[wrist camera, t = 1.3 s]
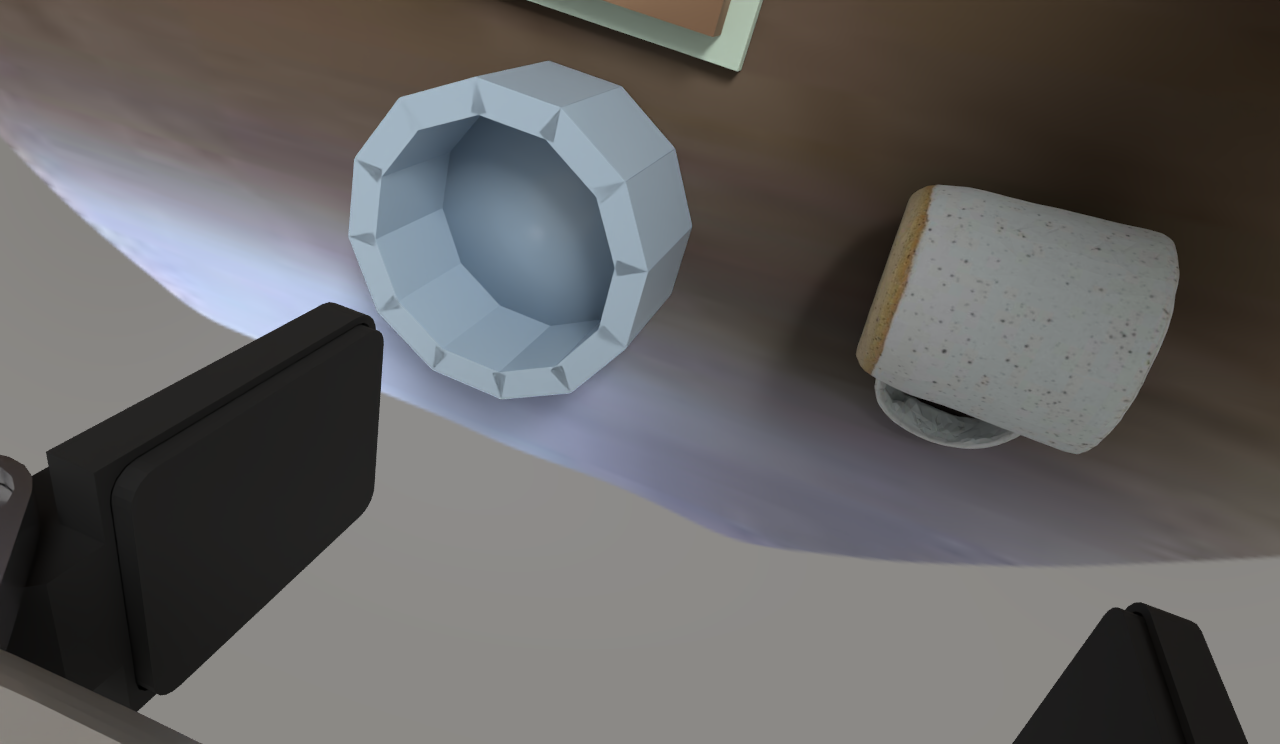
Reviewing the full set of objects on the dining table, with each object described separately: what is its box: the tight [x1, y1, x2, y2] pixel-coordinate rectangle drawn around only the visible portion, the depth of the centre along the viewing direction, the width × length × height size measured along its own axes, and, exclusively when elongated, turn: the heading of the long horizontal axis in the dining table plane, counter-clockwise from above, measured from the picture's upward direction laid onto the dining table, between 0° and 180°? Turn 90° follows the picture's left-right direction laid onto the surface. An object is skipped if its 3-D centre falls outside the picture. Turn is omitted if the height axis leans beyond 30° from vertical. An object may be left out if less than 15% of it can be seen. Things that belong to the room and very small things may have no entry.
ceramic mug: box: [856, 185, 1180, 454], centre depth 28 cm, size 11×8×8 cm
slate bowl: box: [349, 61, 692, 400], centre depth 32 cm, size 12×12×6 cm
